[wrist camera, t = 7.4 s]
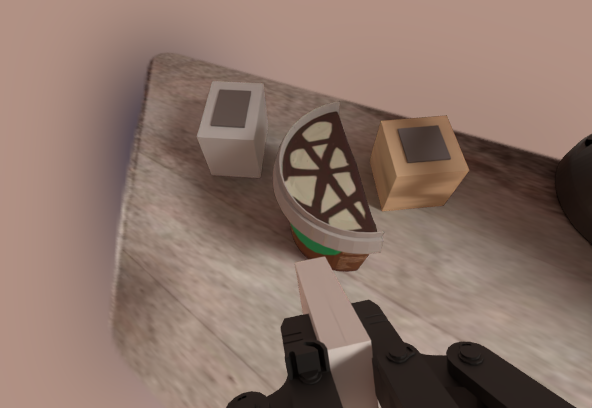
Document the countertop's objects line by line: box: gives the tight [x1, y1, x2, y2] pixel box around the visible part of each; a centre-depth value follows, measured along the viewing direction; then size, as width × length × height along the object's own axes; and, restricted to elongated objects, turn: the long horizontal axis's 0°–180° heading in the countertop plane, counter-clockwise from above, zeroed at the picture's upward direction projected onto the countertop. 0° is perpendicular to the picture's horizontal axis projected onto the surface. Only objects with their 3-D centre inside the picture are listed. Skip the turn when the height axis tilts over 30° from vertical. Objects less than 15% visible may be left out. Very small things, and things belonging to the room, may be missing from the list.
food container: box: [273, 101, 384, 271], centre depth 29 cm, size 12×6×10 cm, turn 11°
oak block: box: [370, 115, 469, 211], centre depth 33 cm, size 6×6×6 cm
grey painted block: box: [197, 81, 268, 178], centre depth 35 cm, size 5×7×6 cm
